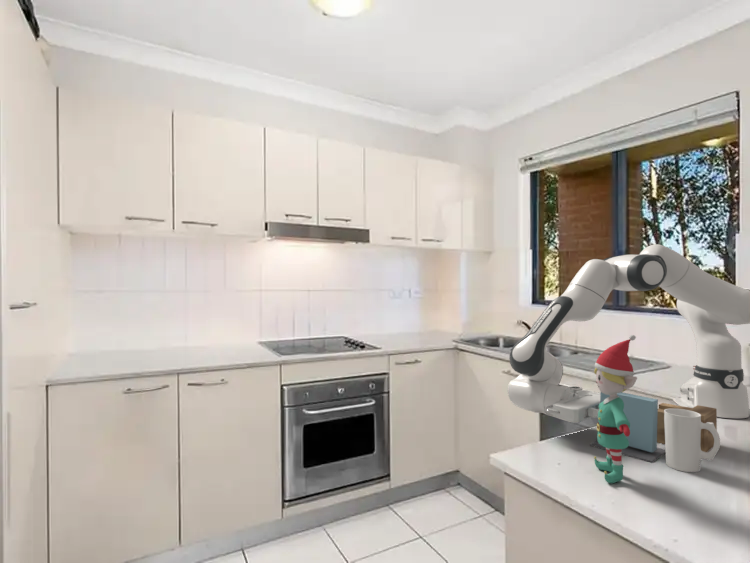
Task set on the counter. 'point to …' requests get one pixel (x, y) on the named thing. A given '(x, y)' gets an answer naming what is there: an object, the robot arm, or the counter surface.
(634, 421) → the blue rectangular block
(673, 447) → the mug
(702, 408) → the slot box
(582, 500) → the counter surface
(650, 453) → the mat
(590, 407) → the robot arm
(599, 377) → the toy
